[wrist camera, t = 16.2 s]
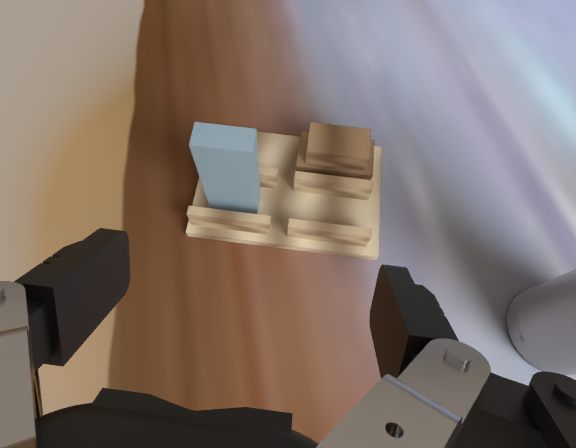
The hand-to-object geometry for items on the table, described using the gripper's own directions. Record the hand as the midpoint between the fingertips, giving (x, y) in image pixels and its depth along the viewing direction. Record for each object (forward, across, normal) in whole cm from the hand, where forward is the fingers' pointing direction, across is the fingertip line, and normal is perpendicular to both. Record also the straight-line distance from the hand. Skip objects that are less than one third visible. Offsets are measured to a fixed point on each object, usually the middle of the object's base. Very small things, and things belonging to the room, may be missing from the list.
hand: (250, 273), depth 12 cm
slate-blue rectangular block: (+32, +6, +9) cm, 34 cm away
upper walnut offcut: (+36, -5, +2) cm, 36 cm away
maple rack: (+36, 0, +8) cm, 36 cm away
